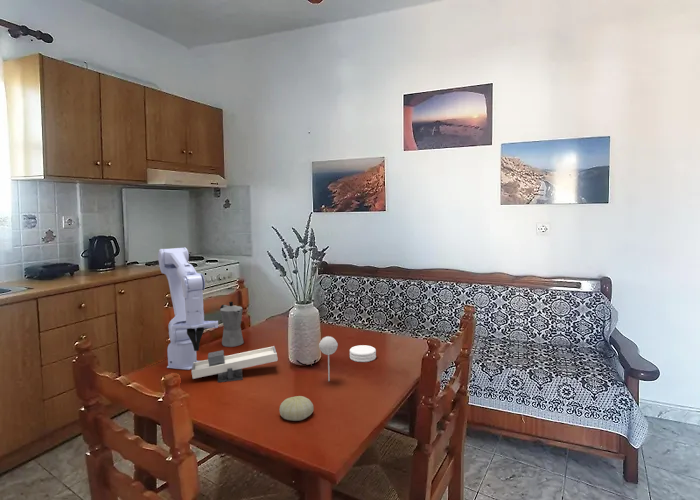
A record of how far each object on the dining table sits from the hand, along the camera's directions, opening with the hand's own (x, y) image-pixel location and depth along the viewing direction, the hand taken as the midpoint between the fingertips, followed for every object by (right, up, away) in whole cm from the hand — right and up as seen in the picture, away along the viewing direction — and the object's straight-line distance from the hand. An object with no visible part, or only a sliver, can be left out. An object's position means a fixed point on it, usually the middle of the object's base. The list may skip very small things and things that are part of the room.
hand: (196, 350), depth 147 cm
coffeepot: (+1, -6, +38) cm, 38 cm away
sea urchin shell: (+37, -13, -25) cm, 46 cm away
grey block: (+6, -6, +2) cm, 9 cm away
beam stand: (+10, -9, +4) cm, 14 cm away
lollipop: (+45, -10, -3) cm, 46 cm away
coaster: (+56, -8, +19) cm, 60 cm away
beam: (+12, -6, +4) cm, 14 cm away
